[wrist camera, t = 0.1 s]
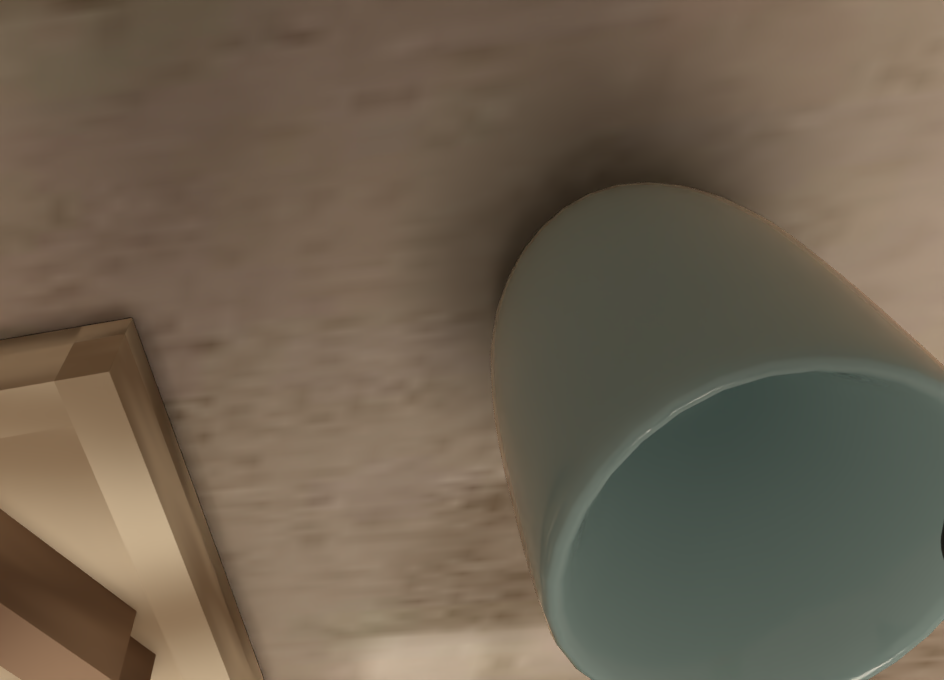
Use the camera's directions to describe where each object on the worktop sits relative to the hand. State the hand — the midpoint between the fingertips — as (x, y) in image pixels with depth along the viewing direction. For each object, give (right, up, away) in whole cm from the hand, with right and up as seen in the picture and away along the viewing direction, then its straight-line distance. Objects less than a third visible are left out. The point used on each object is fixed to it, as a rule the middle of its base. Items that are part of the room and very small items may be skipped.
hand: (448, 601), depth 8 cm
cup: (+4, +4, +16) cm, 17 cm away
